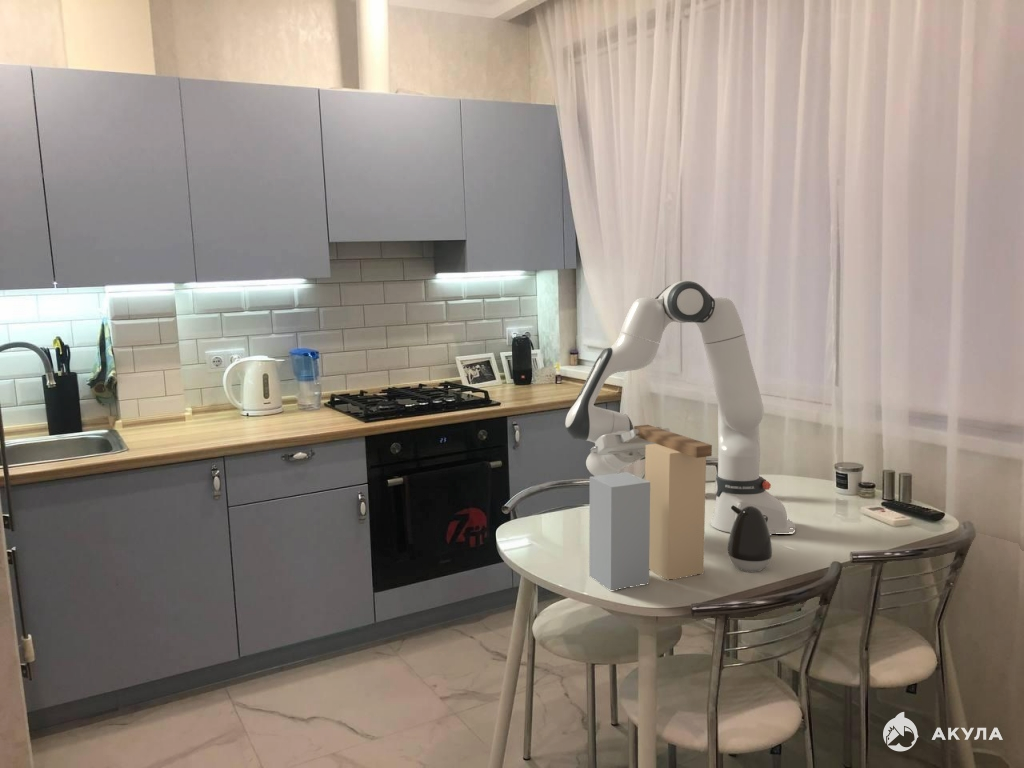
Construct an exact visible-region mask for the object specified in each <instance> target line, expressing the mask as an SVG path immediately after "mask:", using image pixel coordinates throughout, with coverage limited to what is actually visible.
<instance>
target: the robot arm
mask: <svg viewBox="0 0 1024 768" xmlns="http://www.w3.org/2000/svg"><path fill="white" fill-rule="evenodd" d="M673 322H675V323H682V324H685V323H695V324H696V325H697V327H698V329H699V331H700V333H701V337H702V343H703V347H704V351H705V355H706V360H707V363H708V367H709V371H710V376H711V379H712V384H713V387H714V388H713V389H714V391H715V395H716V399H717V402H718V403H717V406H718V407H717V412H718V413H717V429H718V430H717V435H718V436H717V437H718V438H717V439H718V445H717V446H718V449H717V451H718V453H717V454H718V456H717V474H716V477H715V486H714V487H715V489H714V490H715V495H716V496H715V503H714V504H715V505H714V509H713V514H712V517H711V520H710V522H709V524H710V525H711V527H712V528H714V529H716V530H719V531H721V532H726V533H729V534H730V533H731V529H732V526H733V524H734V521H735V519H736V517H737V515H738V514H737V513H735V512H734V511H733V510H732V509H731V507H732V506H733V505H734V506H735V507H737V508H739V509H740V510H742V509H743V508H745V507H748V506H752V507H756V508H757V509H759V510H760V511H761V513H762V514H763V516H764V518H765V520H766V523H767V526H768V530H769V533H770V534H776V533H789V532H793V531H794V530H795V528H796V525H795V523H794V522H793V521H792V520H791V519H789V518H788V515H787V509H786V507H785V505H784V504H783V502H781V500H779V499H778V498H776V497H775V496H774V495H773V494H771V493H770V492H769V491H768V490H770V489H771V487H772V485H771V483H770V481H768V480H767V479H765V478H764V477H763V476H760V461H761V460H760V459H761V457H760V456H761V445H760V423H761V422H762V420H763V418H764V413H765V409H764V408H765V407H764V402H763V399H762V397H761V392H760V389H759V384H758V382H757V377H756V374H755V371H754V367H753V363H752V360H751V356H750V351H749V347H748V343H747V338H746V334H745V331H744V326H743V322H742V320H741V317H740V314H739V312H738V309H737V308H736V305H735V303H734V302H733V301H732V300H730V299H729V298H727V297H714V298H713V296H711V294H710V293H709V292H708V291H707V290H706V289H705V288H704V287H703V286H702V285H700V284H699V283H697V282H694V281H691V280H688V281H687V280H681V281H680V280H679V281H676V282H674V283H672V284H670V285H667V287H666V288H664V289H663V290H662V291H661V293H659V294H658V295H657V296H656V297H655V298H654V297H649V296H647V297H646V296H643V297H639V298H637V299H635V300H634V301H633V302H632V305H630V308H629V310H628V312H627V314H626V316H625V318H624V321H623V323H622V326H621V329H620V332H619V335H618V336H617V339H616V341H615V342H614V343H613V344H612V345H611V346H610V347H607V348H604V349H603V350H602V351H601V353H600V354H599V356H598V357H597V359H596V360H595V362H594V364H593V365H592V368H591V370H590V371H589V374H588V376H587V377H586V379H585V381H584V384H583V385H582V387H581V389H580V392H579V394H578V395H577V397H576V399H575V401H574V402H573V403H572V405H571V407H570V408H569V410H568V412H567V414H566V417H565V421H564V427H565V429H566V432H567V433H568V434H569V436H570V437H571V438H572V439H573V440H580V441H585V442H586V441H588V442H591V443H594V445H595V446H592V447H591V448H590V453H589V454H588V456H587V458H586V461H585V465H586V468H587V471H589V473H590V474H591V475H593V476H599V475H607V474H615V473H620V471H622V469H624V468H626V467H628V466H630V465H634V464H635V463H637V462H639V461H642V460H645V450H646V445H650V444H656V443H653V442H650V441H647V440H644V439H641V438H638V436H639V435H640V434H639V430H638V429H634V424H633V422H632V421H631V418H630V417H629V415H628V414H626V413H622V412H618V411H616V410H612V409H606V408H603V407H599V406H596V405H594V404H595V402H596V401H597V400H596V399H598V397H599V394H600V392H601V391H602V388H603V387H604V384H605V383H606V380H607V379H608V378H609V377H610V376H612V375H614V374H617V373H621V372H631V371H637V370H641V369H644V368H645V367H647V366H649V365H650V364H651V363H652V362H653V361H654V360H655V358H656V355H657V353H658V350H659V346H660V344H661V339H662V337H663V334H664V332H665V329H666V327H667V326H668V325H670V324H671V323H673ZM656 427H657V428H660V429H663V430H666V431H669V432H672V431H671V430H670V428H669V427H663V428H662V426H656ZM787 518H788V520H787ZM790 520H791V521H790ZM790 528H793V529H790Z"/></svg>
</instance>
